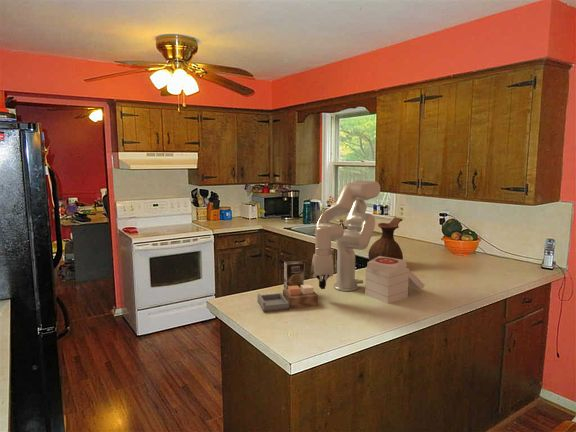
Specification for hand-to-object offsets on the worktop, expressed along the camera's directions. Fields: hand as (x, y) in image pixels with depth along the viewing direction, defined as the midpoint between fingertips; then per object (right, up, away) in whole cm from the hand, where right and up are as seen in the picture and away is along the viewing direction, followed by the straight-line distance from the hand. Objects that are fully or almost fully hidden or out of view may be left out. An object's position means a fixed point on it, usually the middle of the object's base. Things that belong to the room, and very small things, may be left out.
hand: (322, 288), depth 200 cm
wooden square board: (-11, -7, -2) cm, 13 cm away
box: (-24, -7, -6) cm, 26 cm away
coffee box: (-14, -5, +12) cm, 19 cm away
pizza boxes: (+37, -5, +11) cm, 39 cm away
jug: (+45, +3, +60) cm, 75 cm away
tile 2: (-8, -1, -2) cm, 8 cm away
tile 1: (-14, -2, -4) cm, 14 cm away
